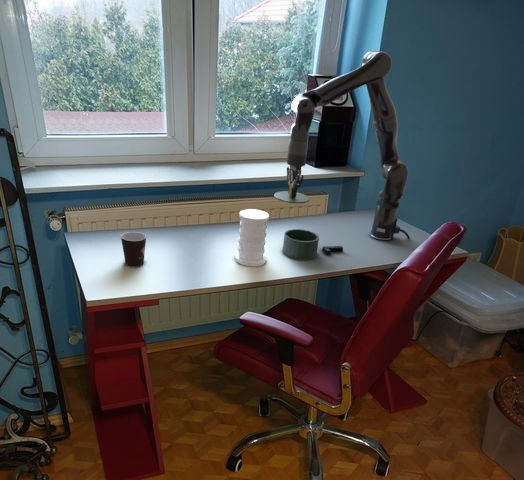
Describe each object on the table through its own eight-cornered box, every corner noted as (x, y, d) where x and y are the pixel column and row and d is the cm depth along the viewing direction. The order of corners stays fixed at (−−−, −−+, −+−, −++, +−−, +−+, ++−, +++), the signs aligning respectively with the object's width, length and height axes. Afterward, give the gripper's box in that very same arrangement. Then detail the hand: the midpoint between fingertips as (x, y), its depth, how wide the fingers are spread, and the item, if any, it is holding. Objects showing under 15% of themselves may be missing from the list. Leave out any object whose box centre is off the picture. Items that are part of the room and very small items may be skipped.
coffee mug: (135, 270, 185) (134, 242, 180) (117, 262, 189) (115, 236, 183) (157, 260, 194) (157, 234, 188) (139, 253, 197) (139, 228, 192)
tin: (308, 246, 220) (311, 228, 216) (321, 259, 209) (324, 241, 205) (277, 247, 216) (280, 229, 212) (289, 260, 205) (291, 242, 201)
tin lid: (301, 193, 226) (303, 179, 223) (314, 204, 215) (316, 189, 212) (269, 193, 222) (270, 179, 219) (280, 204, 210) (282, 189, 207)
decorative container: (230, 255, 204) (233, 209, 195) (258, 253, 209) (262, 208, 199) (241, 267, 196) (245, 220, 186) (270, 264, 200) (275, 218, 190)
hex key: (340, 250, 220) (341, 245, 219) (345, 254, 216) (346, 250, 215) (321, 250, 217) (322, 246, 216) (326, 255, 214) (327, 250, 213)
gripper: (312, 156, 204) (306, 201, 213) (300, 148, 215) (294, 190, 224) (294, 156, 202) (289, 201, 211) (282, 147, 213) (277, 190, 222)
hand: (292, 195), depth 218 cm, fingers closed on tin lid, 2 cm apart
